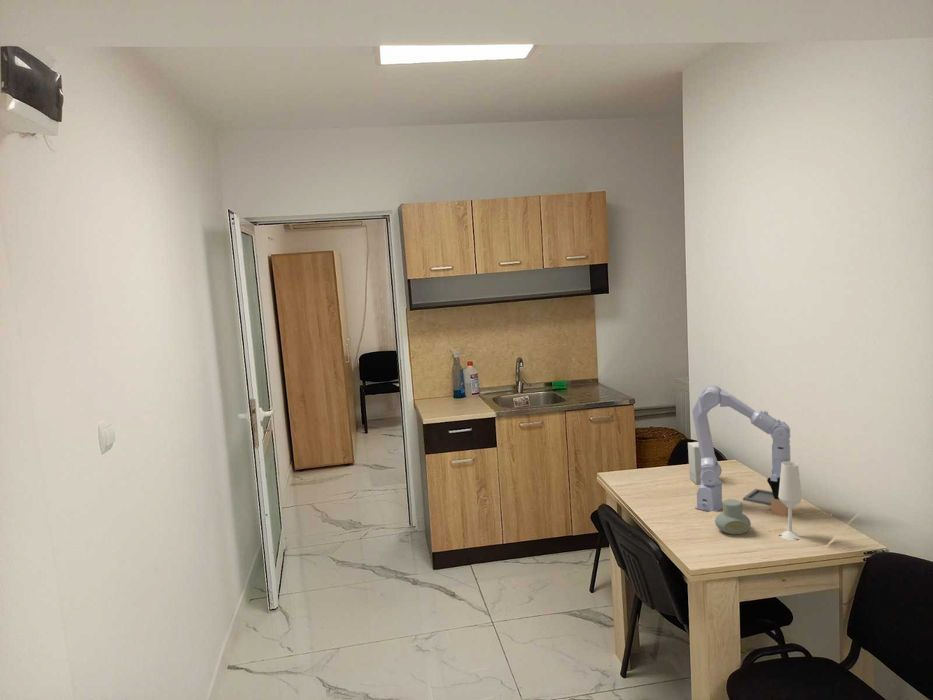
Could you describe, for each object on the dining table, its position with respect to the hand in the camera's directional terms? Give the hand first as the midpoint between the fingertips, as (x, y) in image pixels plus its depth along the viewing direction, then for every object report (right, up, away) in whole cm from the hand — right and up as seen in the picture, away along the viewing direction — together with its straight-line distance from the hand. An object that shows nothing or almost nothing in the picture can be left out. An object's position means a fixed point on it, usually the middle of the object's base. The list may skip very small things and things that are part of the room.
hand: (781, 495), depth 231 cm
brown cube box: (0, -6, +1) cm, 6 cm away
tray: (+1, -5, +14) cm, 15 cm away
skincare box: (-15, -3, +39) cm, 42 cm away
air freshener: (-21, -9, -11) cm, 26 cm away
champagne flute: (-6, -9, -18) cm, 21 cm away
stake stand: (0, -6, +1) cm, 6 cm away
